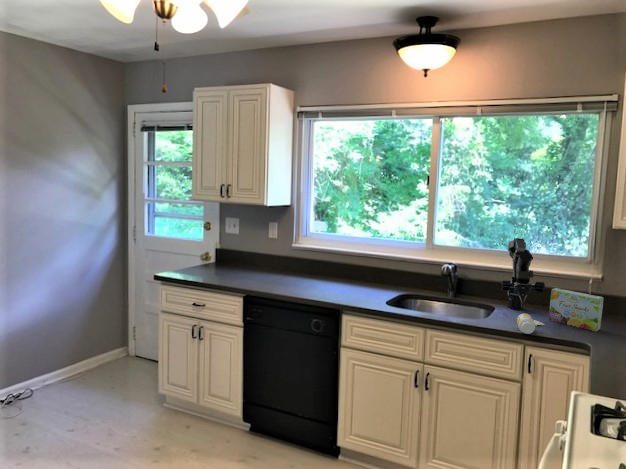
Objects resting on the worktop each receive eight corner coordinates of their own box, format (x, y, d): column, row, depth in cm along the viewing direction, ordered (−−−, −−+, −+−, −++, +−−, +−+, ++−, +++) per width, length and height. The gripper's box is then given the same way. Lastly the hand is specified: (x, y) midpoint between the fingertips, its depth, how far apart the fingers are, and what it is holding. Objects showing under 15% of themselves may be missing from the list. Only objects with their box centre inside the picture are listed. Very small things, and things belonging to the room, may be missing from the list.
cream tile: (535, 321, 249) (535, 320, 249) (544, 325, 244) (544, 323, 244) (524, 322, 247) (524, 320, 247) (533, 325, 242) (533, 324, 242)
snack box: (547, 320, 252) (550, 289, 250) (552, 318, 256) (555, 287, 254) (596, 332, 237) (600, 298, 235) (600, 329, 241) (604, 296, 239)
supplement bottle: (521, 330, 239) (524, 338, 226) (513, 316, 239) (516, 324, 227) (535, 323, 237) (539, 332, 224) (528, 310, 237) (531, 318, 225)
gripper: (501, 263, 254) (501, 292, 246) (545, 264, 248) (546, 294, 239) (501, 276, 263) (501, 304, 254) (543, 277, 257) (544, 306, 248)
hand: (522, 302), depth 249 cm, fingers closed
